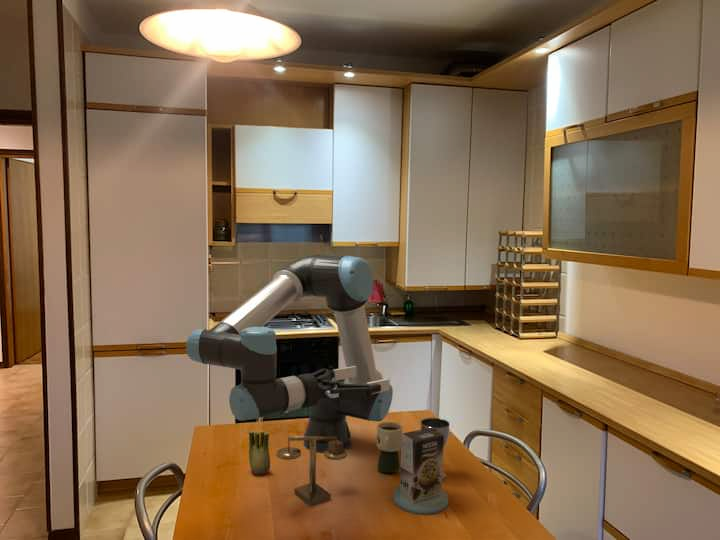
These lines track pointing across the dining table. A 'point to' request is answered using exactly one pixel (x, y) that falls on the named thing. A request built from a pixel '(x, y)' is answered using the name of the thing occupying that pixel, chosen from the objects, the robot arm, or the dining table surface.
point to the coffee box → (421, 465)
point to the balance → (313, 466)
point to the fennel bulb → (259, 452)
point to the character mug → (389, 446)
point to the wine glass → (437, 428)
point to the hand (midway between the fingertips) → (371, 377)
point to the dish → (421, 504)
